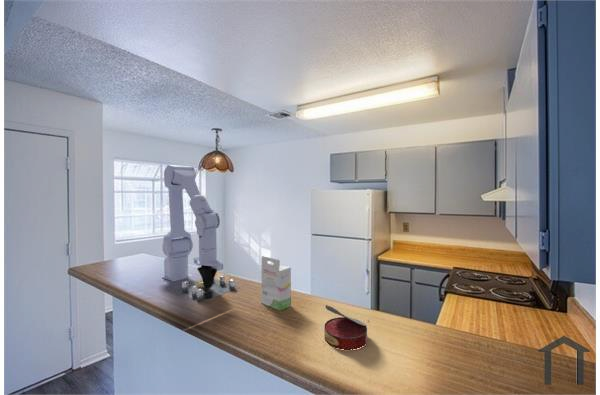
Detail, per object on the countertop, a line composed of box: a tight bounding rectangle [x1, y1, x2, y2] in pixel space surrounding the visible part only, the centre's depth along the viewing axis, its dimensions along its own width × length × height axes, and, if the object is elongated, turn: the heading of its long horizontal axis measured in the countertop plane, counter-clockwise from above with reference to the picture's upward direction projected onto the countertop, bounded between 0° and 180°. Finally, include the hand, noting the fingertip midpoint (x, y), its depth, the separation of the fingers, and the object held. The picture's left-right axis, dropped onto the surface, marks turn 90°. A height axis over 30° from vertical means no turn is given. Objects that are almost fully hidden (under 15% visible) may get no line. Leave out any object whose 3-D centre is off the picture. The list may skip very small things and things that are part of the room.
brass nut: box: [194, 279, 208, 290], centre depth 100 cm, size 5×5×2 cm
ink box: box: [260, 255, 292, 312], centre depth 86 cm, size 9×5×15 cm, turn 47°
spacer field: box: [174, 275, 241, 303], centre depth 98 cm, size 15×16×4 cm
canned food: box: [324, 304, 368, 351], centre depth 67 cm, size 11×10×10 cm
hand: (208, 287), depth 98 cm, fingers closed
